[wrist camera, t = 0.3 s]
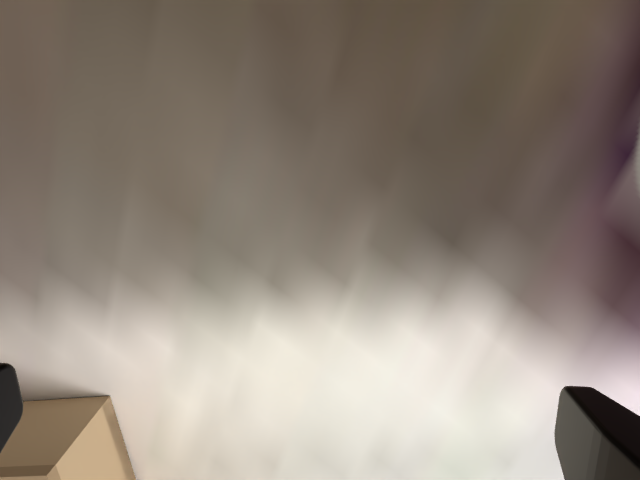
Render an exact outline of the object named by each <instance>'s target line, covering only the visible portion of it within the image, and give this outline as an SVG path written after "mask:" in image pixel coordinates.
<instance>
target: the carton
mask: <svg viewBox="0 0 640 480" xmlns="http://www.w3.org/2000/svg"><path fill="white" fill-rule="evenodd" d="M35 465H56V467H57V470H58V473H59V476H60V478H61V480H136V478H135V475H134V472H133V469H132V466H131V462H130V459H129V456H128V453H127V450H126V446H125V443H124V440H123V437H122V434H121V430H120V427H119V424H118V421H117V417H116V414H115V411H114V408H113V405H112V401H111V398H110V396H102V397H86V398H70V399H54V400H38V401H23V414H22V417H21V419H20V421H19V423H18V425H17V426H16V428H15V430H14V431H13V433H12V435H11V436H10V438H9V440H8V441H7V443H6V445H5V446H4V448H3V450H2V451H1V453H0V467H12V466H35Z"/></svg>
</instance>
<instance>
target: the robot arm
mask: <svg viewBox="0 0 640 480" xmlns="http://www.w3.org/2000/svg"><path fill="white" fill-rule="evenodd" d="M22 414H23V401H22V396H21V392H20V388H19V383H18V379H17V375H16V371H15V369H14V368H13V366H12V365H10V364H7V363H0V453H1V451H2V450H3V448H4V446H5V445H6V443H7V441H8V440H9V438H10V436H11V435H12V433H13V431H14V430H15V428H16V426H17V425H18V423H19V421H20V419H21V417H22ZM555 445H556V450H557V453H558V457H559V460H560V464H561V468H562V471H563V475H564V479H565V480H640V416H638V415H637V414H635V413H633V412H632V411H630V410H628V409H627V408H625V407H624V406H622V405H620V404H619V403H617V402H615V401H614V400H612V399H610V398H609V397H607V396H605V395H604V394H602V393H600V392H599V391H597V390H595V389H594V388H591V387H578V386H566V387H564V388H563V389H562V391H561V393H560V397H559V404H558V411H557V418H556V425H555Z"/></svg>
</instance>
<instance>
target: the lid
mask: <svg viewBox="0 0 640 480" xmlns="http://www.w3.org/2000/svg"><path fill="white" fill-rule="evenodd" d="M0 480H61V478H60V476H59V473H58V470H57V467H56V465H35V466H12V467H0Z"/></svg>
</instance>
